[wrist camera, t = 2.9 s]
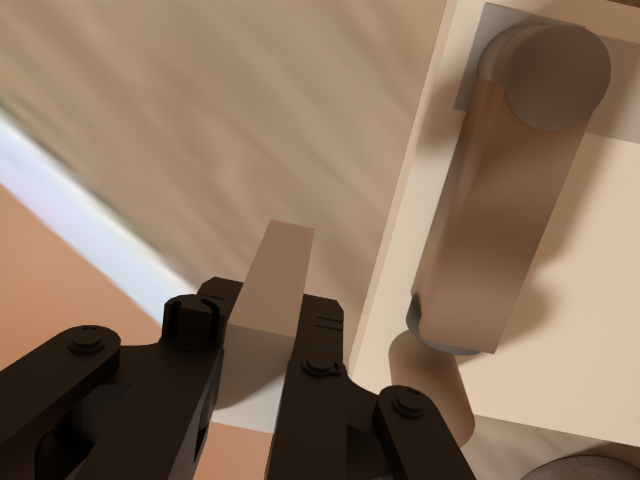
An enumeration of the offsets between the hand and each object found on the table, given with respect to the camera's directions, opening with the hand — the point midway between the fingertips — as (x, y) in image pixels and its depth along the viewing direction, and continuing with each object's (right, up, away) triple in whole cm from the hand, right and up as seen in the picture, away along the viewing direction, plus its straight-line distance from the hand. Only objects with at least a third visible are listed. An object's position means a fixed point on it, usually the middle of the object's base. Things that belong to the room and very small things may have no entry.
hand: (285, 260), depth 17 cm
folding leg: (+8, +3, +5) cm, 10 cm away
